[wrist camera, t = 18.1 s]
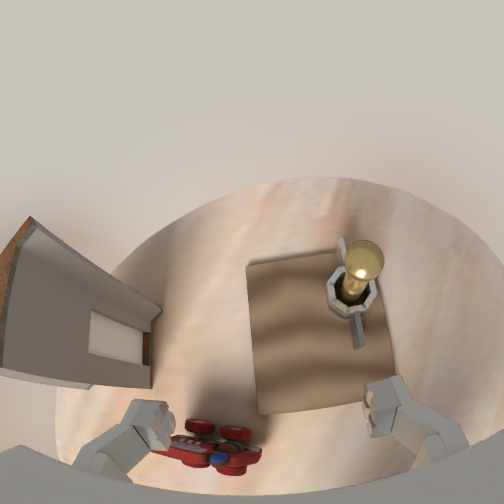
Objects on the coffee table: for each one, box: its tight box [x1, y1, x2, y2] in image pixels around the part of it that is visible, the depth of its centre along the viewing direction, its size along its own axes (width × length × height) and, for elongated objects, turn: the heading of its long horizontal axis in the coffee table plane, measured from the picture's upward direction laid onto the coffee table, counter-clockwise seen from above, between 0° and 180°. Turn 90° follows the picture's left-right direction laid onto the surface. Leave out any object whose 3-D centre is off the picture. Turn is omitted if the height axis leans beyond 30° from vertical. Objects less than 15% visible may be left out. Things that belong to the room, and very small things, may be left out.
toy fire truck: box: [151, 419, 262, 476], centre depth 30 cm, size 7×12×10 cm, turn 84°
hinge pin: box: [338, 240, 384, 307], centre depth 33 cm, size 4×4×14 cm
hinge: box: [325, 237, 377, 350], centre depth 37 cm, size 15×6×5 cm, turn 5°
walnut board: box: [246, 252, 395, 415], centre depth 39 cm, size 22×19×1 cm
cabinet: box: [0, 216, 163, 390], centre depth 29 cm, size 21×10×28 cm, turn 136°
